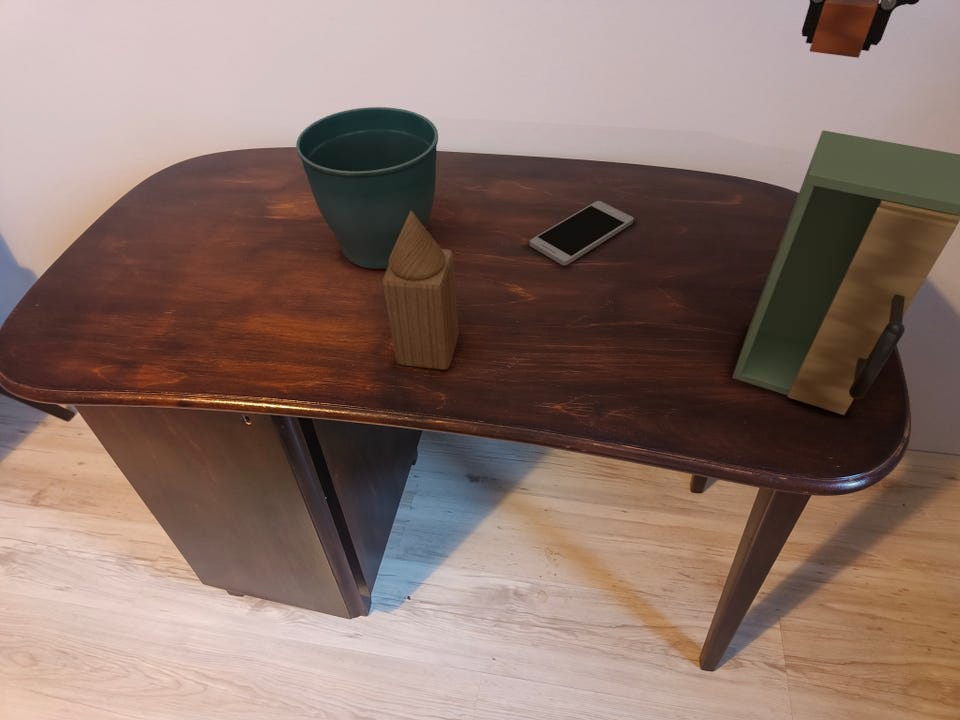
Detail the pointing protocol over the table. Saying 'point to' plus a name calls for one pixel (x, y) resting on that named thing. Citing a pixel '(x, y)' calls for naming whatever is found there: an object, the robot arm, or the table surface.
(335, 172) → the flower pot
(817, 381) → the door
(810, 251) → the box
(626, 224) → the smartphone
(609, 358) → the table surface
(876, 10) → the robot arm
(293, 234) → the table surface
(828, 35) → the block
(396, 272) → the decorative item
